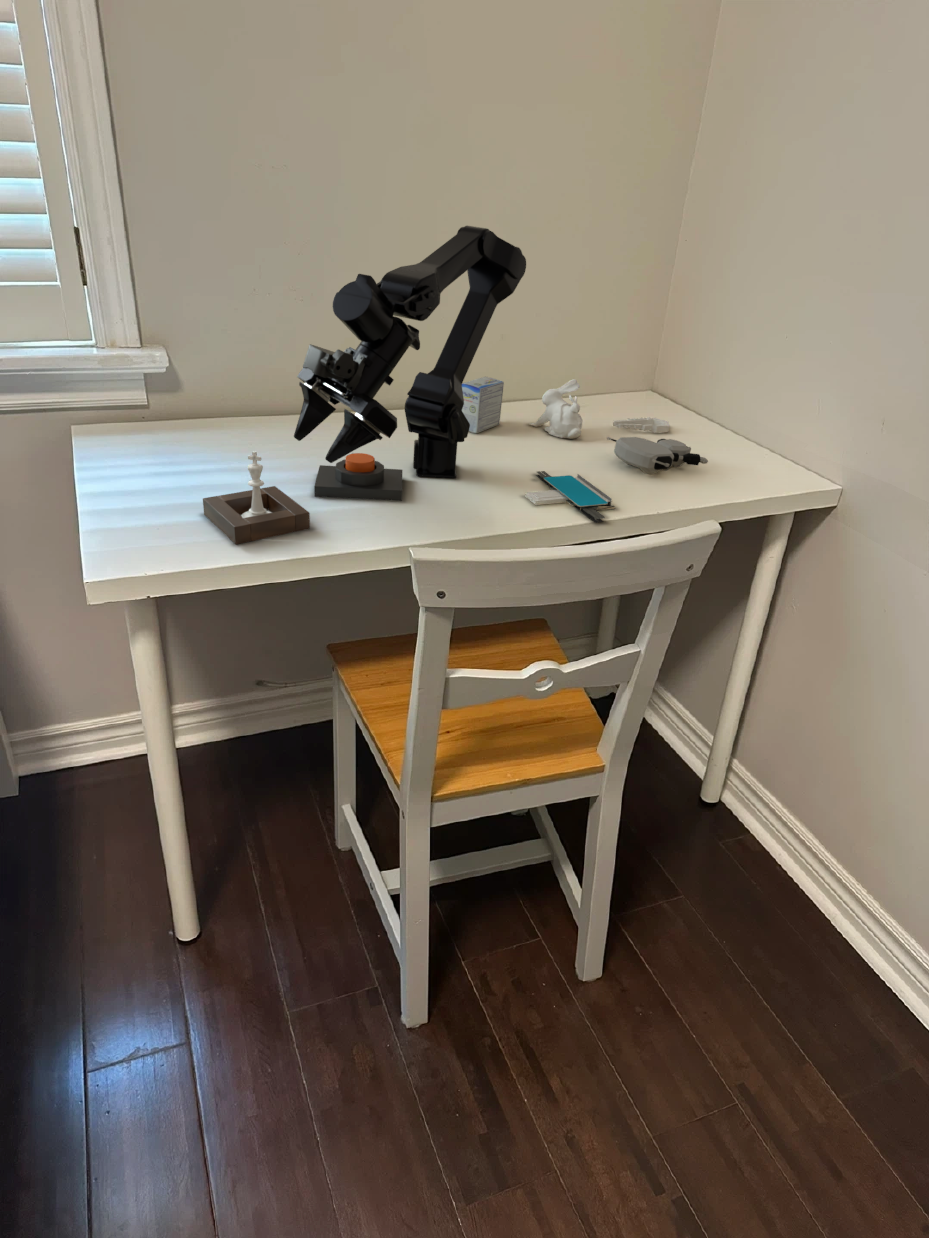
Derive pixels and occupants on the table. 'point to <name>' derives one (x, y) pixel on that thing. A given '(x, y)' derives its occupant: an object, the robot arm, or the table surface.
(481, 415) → the medicine box
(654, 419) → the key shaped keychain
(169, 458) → the table surface
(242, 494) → the frame
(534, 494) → the phone stand
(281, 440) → the table surface
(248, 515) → the chess piece
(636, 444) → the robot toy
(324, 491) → the push button base
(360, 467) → the orange push button
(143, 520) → the table surface
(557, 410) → the rabbit figurine
